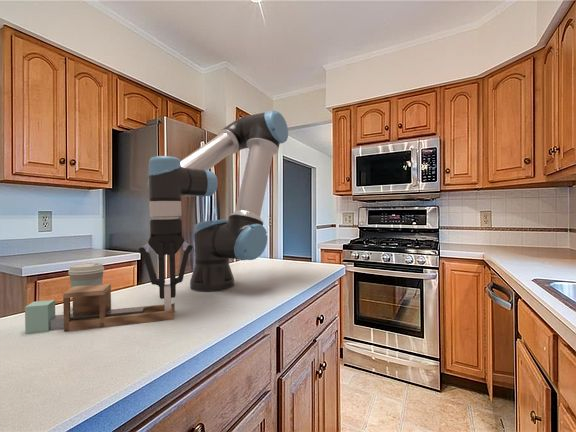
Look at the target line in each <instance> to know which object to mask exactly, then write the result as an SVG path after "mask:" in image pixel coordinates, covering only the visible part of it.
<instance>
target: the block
mask: <svg viewBox="0 0 576 432" xmlns="http://www.w3.org/2000/svg"><path fill="white" fill-rule="evenodd" d="M55 315H56V300H55V299H51V300H49V299H48V300H38V301H37V300H36V301H32V302H30V303H29V304H28V305H26V306H24V321H25V322H24V325H25V331H24V332H25V335H29V334H37V333H39V334H40V333H46V332H50V331H51V330H50V327H49V320H50V319H51V318H52V317H54V316H55Z"/></svg>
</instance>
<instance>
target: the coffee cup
mask: <svg viewBox="0 0 576 432" xmlns="http://www.w3.org/2000/svg"><path fill="white" fill-rule="evenodd" d="M104 271H105V267H104V265H103V263H102V262H84V263H78V264H77V263H76V264H73V265H70V267H69V268H68V272H67V275H69V282H70V289H71V288H72V287H74V286H87V285H101V284H103V278H104Z"/></svg>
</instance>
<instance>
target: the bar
mask: <svg viewBox="0 0 576 432" xmlns="http://www.w3.org/2000/svg"><path fill="white" fill-rule="evenodd" d="M136 307H137V308H132V307H126V308H127V309H121V308H115V309H116V310H106V317H111V316H121V315H131V314H140V313H144V307H142V306H136ZM70 316H71V321H73V320H82V319H92V318H100V311H95V312H84V313H74V314H73V313H70ZM49 327H50V331H57V330H58V331H59V330H64V313H62V314H55V316H54V317H52V318H51V319H50V320H49Z"/></svg>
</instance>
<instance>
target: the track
mask: <svg viewBox="0 0 576 432" xmlns="http://www.w3.org/2000/svg"><path fill="white" fill-rule="evenodd" d="M111 285H112V283H104V284H103V283H102V284H101V285H87V286H74V287H72V288H71V287H70V288H69V289H68V290H66V291H65V292H63V293H62V296H63V297H62V299H63V302H62V305H63V308H62V309H63V314H64V329H63V332H74V331H80V330H89V329H101V328H108V327H118V326H126V325H135V324H144V323H154V322H162V321H171V320H174V319H175V310H176V307H175V306H176V305H175V303H171V307H172V309H171V310H169V311H165V304H164V303H163V304H154V305H146V306H145V305H144V306H141V307H144V313H140V314H131V315H121V316H111V317H106V310H116V309H117V308H114V309H112V286H111ZM71 298H72V314H74V313H84V312H95V311H100V318H92V319H82V320H73V321H71V316H70V314H71ZM137 307H138V306H135V307H131V308H137ZM127 308H128V307H123V308H120V309H127Z"/></svg>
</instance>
